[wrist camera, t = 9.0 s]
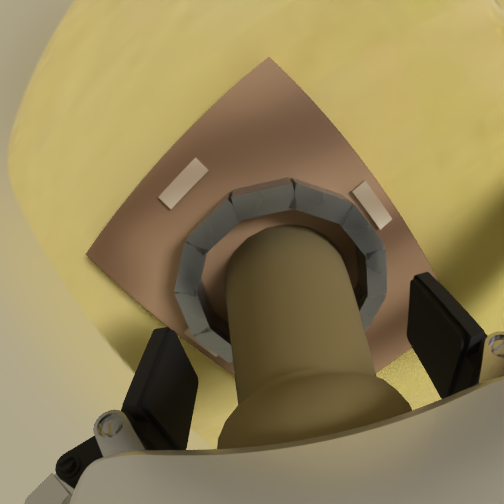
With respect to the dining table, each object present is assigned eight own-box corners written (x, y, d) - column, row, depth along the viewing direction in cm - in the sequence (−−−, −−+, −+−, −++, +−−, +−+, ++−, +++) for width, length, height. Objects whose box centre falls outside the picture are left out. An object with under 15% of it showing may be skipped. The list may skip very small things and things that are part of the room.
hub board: (445, 302, 17) (455, 314, 15) (299, 405, 20) (301, 419, 19) (267, 62, 11) (269, 55, 10) (95, 245, 15) (84, 255, 14)
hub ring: (404, 280, 14) (416, 294, 13) (273, 375, 17) (274, 393, 16) (291, 135, 12) (297, 135, 10) (146, 275, 14) (136, 290, 13)
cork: (318, 339, 16) (363, 528, 6) (213, 317, 15) (179, 529, 5) (364, 243, 14) (501, 435, 3) (242, 208, 13) (219, 461, 3)
